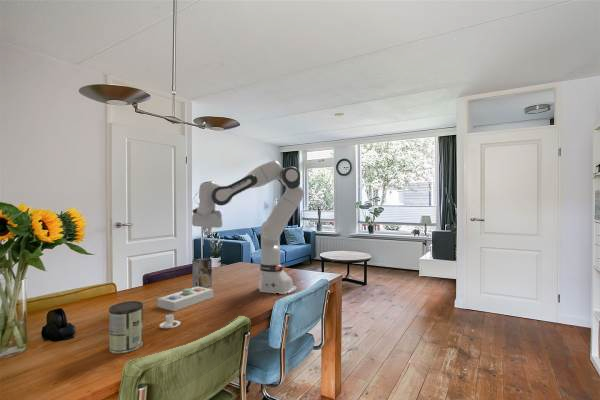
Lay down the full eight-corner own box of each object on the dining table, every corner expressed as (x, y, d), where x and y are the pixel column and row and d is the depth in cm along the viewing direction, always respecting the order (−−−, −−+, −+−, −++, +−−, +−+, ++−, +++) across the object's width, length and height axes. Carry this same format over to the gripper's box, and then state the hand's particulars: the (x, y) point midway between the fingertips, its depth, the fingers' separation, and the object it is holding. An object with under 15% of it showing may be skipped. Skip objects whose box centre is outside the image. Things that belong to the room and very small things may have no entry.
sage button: (193, 295, 156) (193, 289, 156) (186, 297, 152) (186, 291, 152) (187, 294, 158) (187, 288, 158) (180, 296, 154) (180, 290, 154)
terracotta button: (204, 294, 162) (204, 288, 162) (198, 296, 158) (198, 290, 158) (198, 293, 164) (198, 287, 164) (192, 295, 161) (192, 289, 161)
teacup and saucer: (169, 331, 121) (169, 321, 121) (153, 328, 124) (153, 318, 124) (184, 323, 129) (184, 313, 129) (169, 320, 132) (169, 310, 132)
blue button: (180, 302, 149) (180, 296, 149) (173, 305, 145) (173, 298, 145) (174, 301, 151) (174, 295, 151) (167, 303, 147) (167, 297, 147)
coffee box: (205, 284, 187) (205, 257, 187) (212, 286, 183) (212, 258, 183) (192, 287, 180) (192, 259, 180) (198, 289, 176) (198, 261, 176)
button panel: (197, 293, 168) (197, 286, 168) (213, 297, 162) (213, 289, 162) (157, 306, 147) (157, 298, 147) (174, 311, 141) (174, 302, 141)
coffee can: (119, 339, 112) (119, 301, 112) (148, 339, 113) (148, 300, 113) (102, 354, 102) (102, 311, 102) (133, 353, 103) (134, 310, 103)
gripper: (225, 210, 172) (224, 235, 172) (198, 209, 182) (198, 233, 182) (216, 210, 166) (216, 236, 166) (190, 210, 177) (190, 234, 176)
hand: (207, 235), depth 174 cm, fingers closed
